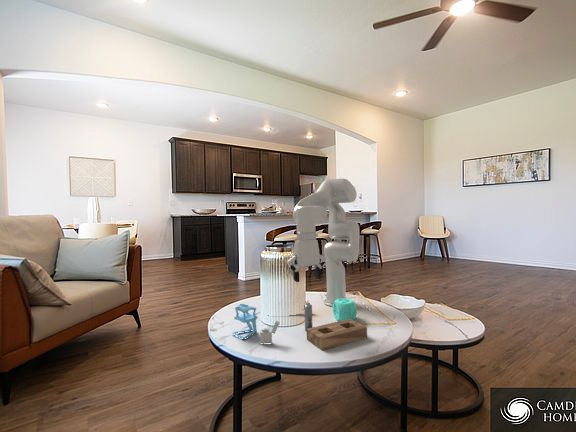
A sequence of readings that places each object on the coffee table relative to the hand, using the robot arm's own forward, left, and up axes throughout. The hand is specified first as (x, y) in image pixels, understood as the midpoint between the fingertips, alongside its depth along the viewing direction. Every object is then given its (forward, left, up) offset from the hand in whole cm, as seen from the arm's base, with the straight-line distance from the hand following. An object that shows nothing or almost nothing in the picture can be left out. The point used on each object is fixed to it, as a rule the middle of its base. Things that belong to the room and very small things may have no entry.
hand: (307, 280), depth 119 cm
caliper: (-21, +2, -21) cm, 30 cm away
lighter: (+3, -18, -20) cm, 27 cm away
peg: (0, 0, -20) cm, 20 cm away
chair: (-9, -23, -20) cm, 32 cm away
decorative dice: (-3, +20, -21) cm, 29 cm away
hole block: (+12, +5, -20) cm, 24 cm away
